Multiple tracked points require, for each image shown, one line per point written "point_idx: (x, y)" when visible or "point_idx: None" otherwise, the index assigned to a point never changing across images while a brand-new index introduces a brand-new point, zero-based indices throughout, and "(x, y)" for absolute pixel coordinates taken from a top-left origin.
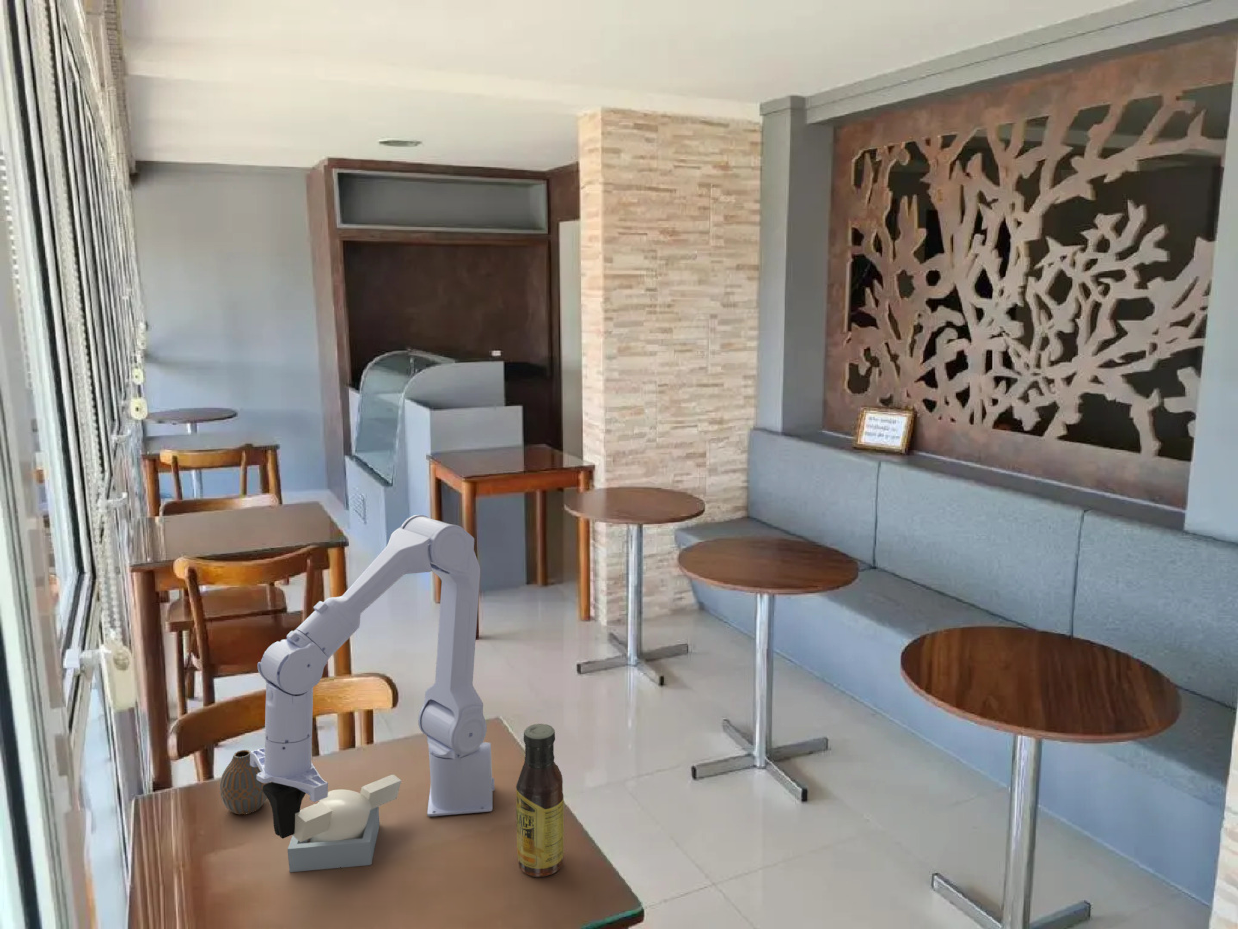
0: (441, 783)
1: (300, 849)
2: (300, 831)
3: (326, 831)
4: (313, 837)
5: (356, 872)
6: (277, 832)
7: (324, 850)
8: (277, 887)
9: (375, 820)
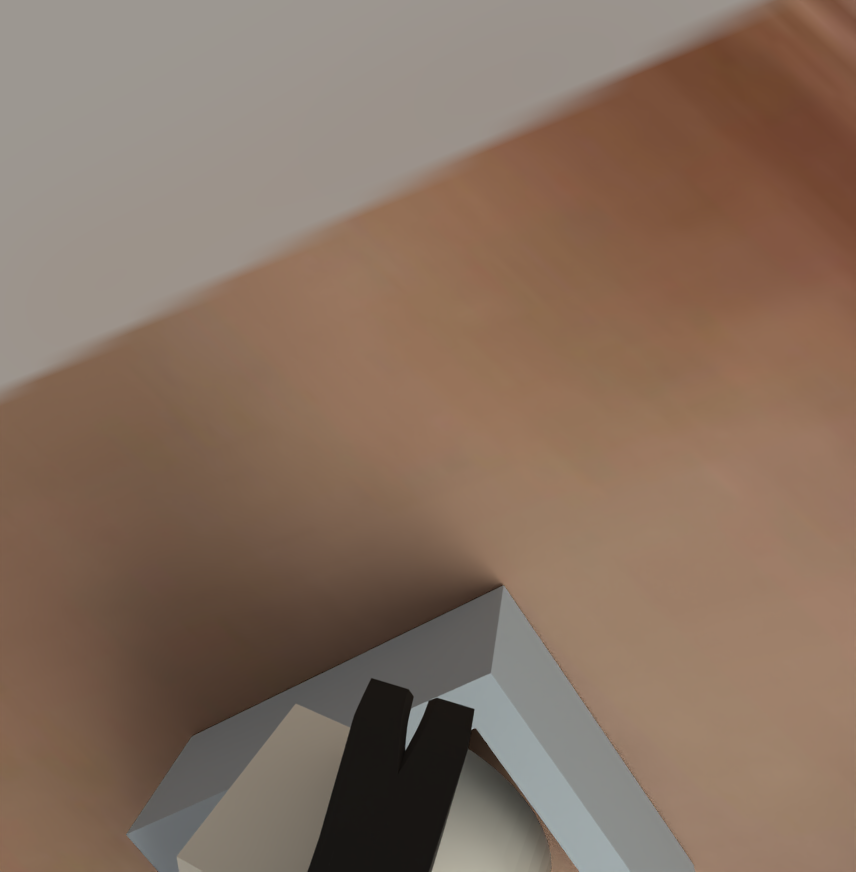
0: None
1: (424, 696)
2: (276, 775)
3: None
4: (452, 805)
5: (209, 679)
6: (429, 718)
7: None
8: (468, 467)
9: None
